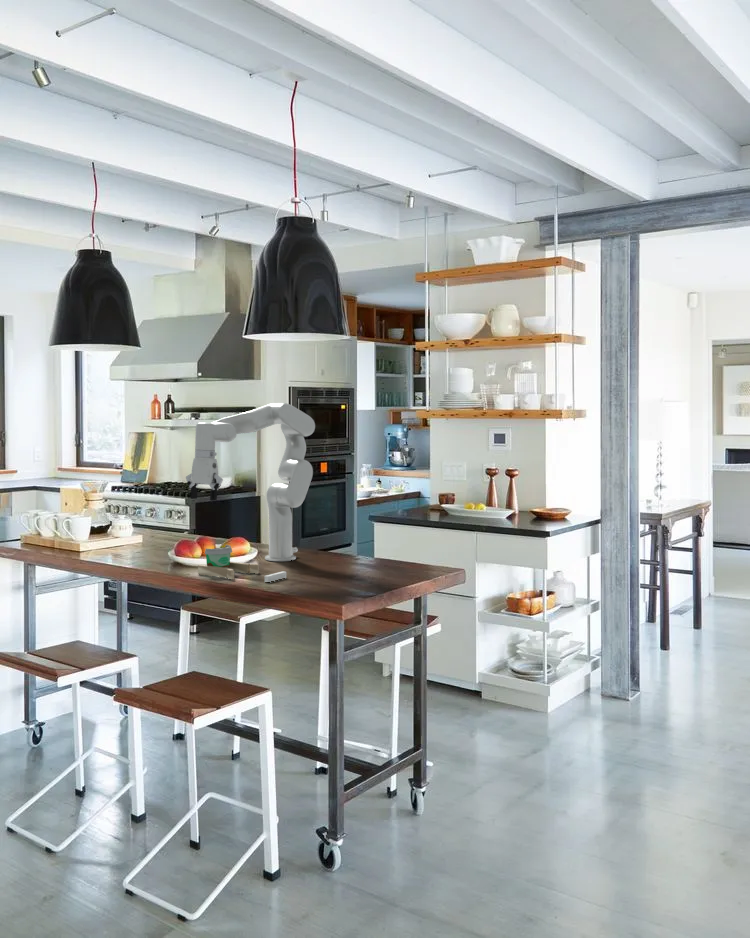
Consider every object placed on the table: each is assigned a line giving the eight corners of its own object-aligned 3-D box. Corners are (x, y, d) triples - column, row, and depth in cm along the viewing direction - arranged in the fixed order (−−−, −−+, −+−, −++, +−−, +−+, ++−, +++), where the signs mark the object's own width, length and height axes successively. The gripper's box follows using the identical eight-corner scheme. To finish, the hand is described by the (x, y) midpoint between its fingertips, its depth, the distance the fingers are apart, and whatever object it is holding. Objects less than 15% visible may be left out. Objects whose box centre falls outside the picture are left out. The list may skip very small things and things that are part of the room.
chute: (224, 568, 352) (224, 559, 351) (260, 573, 343) (260, 564, 343) (194, 575, 337) (194, 566, 337) (231, 580, 328) (231, 570, 328)
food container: (217, 577, 335) (217, 550, 334) (204, 575, 338) (204, 548, 337) (239, 572, 345) (239, 545, 344) (226, 570, 348) (226, 544, 348)
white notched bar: (282, 577, 334) (282, 571, 334) (286, 578, 333) (286, 571, 333) (264, 582, 324) (264, 575, 324) (268, 583, 324) (268, 576, 324)
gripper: (229, 455, 346) (227, 500, 346) (194, 453, 354) (192, 497, 355) (216, 455, 339) (214, 501, 340) (181, 453, 348) (179, 498, 348)
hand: (203, 499), depth 347 cm, fingers open, 9 cm apart
